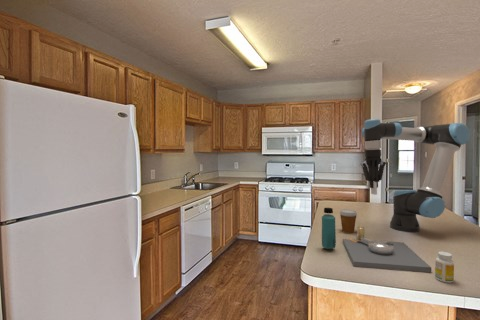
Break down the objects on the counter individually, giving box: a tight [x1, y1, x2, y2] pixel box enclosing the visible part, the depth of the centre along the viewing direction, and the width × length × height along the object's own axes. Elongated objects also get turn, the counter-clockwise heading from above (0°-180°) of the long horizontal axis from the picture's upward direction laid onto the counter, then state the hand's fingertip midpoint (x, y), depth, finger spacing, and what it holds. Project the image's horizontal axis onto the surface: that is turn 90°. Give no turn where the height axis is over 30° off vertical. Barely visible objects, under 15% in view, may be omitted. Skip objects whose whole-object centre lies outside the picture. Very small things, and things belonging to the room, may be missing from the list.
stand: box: [342, 238, 432, 273], centre depth 118 cm, size 28×28×2 cm
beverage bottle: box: [321, 207, 337, 250], centre depth 125 cm, size 6×7×20 cm
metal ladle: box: [355, 226, 394, 255], centre depth 122 cm, size 19×10×7 cm, turn 18°
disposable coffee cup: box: [339, 208, 358, 234], centre depth 152 cm, size 10×10×12 cm
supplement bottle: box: [434, 251, 455, 284], centre depth 95 cm, size 5×5×10 cm
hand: (374, 194), depth 138 cm, fingers closed
